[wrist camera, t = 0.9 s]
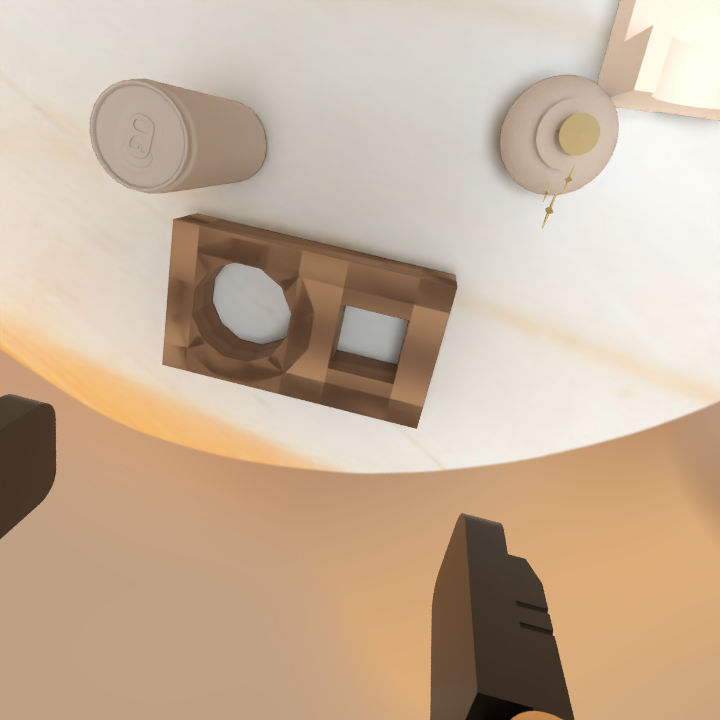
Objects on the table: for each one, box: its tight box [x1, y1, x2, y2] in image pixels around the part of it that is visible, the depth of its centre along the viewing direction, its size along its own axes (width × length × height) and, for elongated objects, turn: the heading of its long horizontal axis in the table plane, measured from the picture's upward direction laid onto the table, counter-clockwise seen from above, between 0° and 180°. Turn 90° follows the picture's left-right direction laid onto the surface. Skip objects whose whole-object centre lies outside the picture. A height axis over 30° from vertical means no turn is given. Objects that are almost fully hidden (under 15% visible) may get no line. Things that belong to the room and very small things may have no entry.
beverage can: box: [90, 79, 266, 193], centre depth 29 cm, size 5×5×12 cm
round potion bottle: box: [500, 75, 619, 228], centre depth 28 cm, size 6×8×10 cm
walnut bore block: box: [162, 214, 457, 429], centre depth 37 cm, size 10×18×4 cm, turn 78°
